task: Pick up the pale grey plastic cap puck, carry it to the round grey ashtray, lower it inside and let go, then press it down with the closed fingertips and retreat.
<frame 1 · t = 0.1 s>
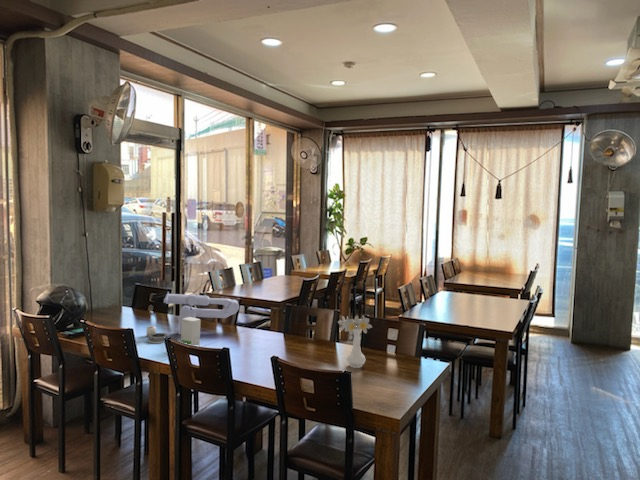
hand: (151, 297, 285), 22 cm above the table, tool horizontal, fingers open, 7 cm apart
flower vase: (354, 366, 238), on the table
skincare box: (190, 347, 263), on the table
cap: (151, 335, 283), on the table
round grey ashtray: (158, 340, 273), on the table
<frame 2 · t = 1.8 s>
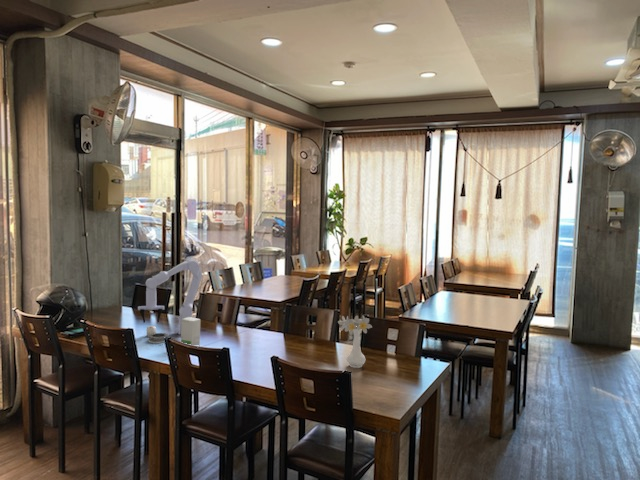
hand: (151, 322, 282), 8 cm above the table, tool pointing down, fingers open, 7 cm apart
nothing on the table moved.
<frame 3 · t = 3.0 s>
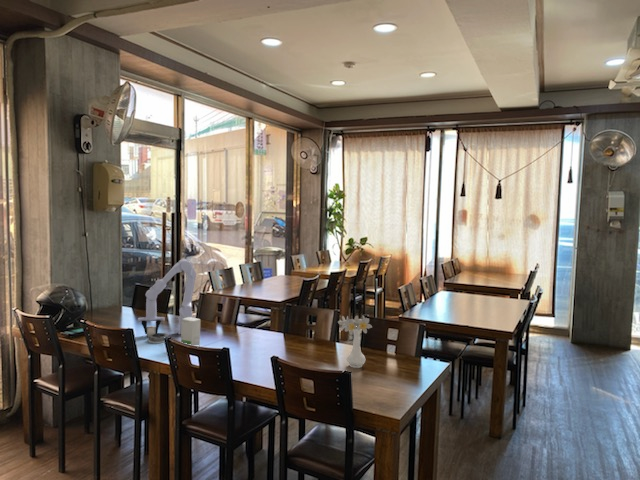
hand: (151, 333, 283), 1 cm above the table, tool pointing down, fingers closed on cap, 5 cm apart
cap: (151, 335, 283), on the table, touching gripper
everything else where it was.
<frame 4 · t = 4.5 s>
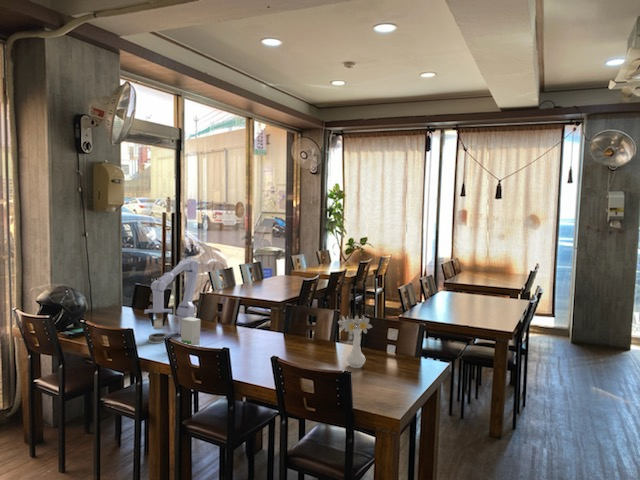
hand: (158, 325, 273), 8 cm above the table, tool pointing down, fingers closed on cap, 5 cm apart
cap: (158, 328, 273), point 7 cm above the table, touching gripper
everything else where it was.
when the fingers open (3 cm above the table, at t = 6.0 s): cap drops 1 cm, resting on round grey ashtray.
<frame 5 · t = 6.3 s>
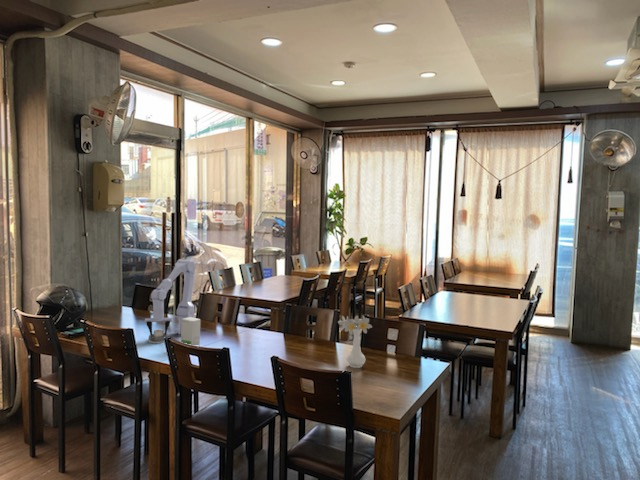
hand: (158, 334, 273), 3 cm above the table, tool pointing down, fingers open, 7 cm apart
cap: (158, 339, 273), point 1 cm above the table, touching round grey ashtray
everything else where it was.
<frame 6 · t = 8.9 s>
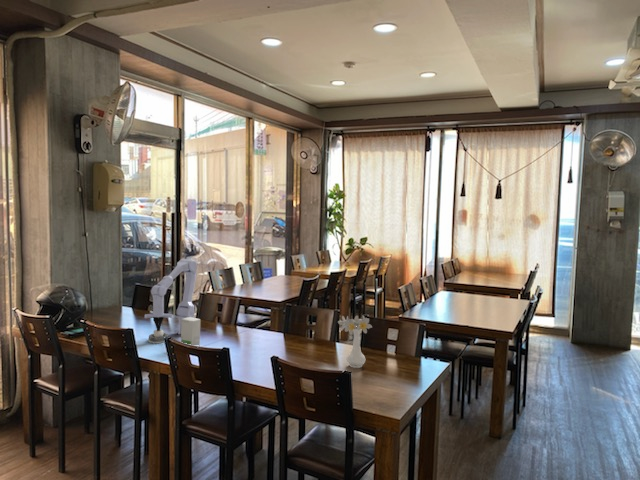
hand: (158, 330, 273), 6 cm above the table, tool pointing down, fingers closed, pressing on cap
cap: (158, 339, 273), point 1 cm above the table, touching round grey ashtray, gripper
everything else where it was.
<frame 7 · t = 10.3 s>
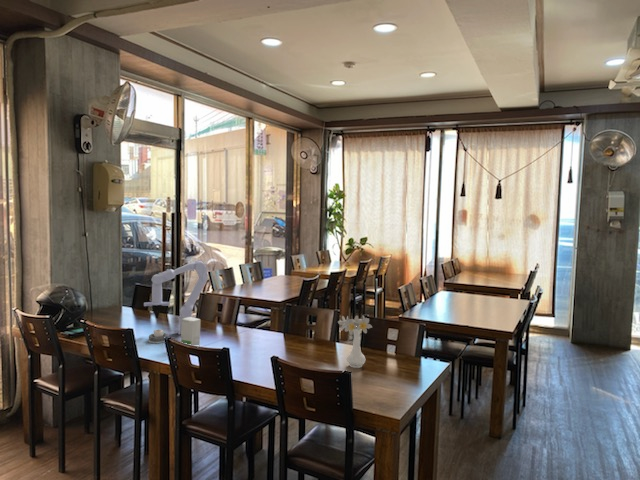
hand: (157, 318, 285), 10 cm above the table, tool pointing down, fingers closed
cap: (158, 339, 273), point 1 cm above the table, touching round grey ashtray
everything else where it was.
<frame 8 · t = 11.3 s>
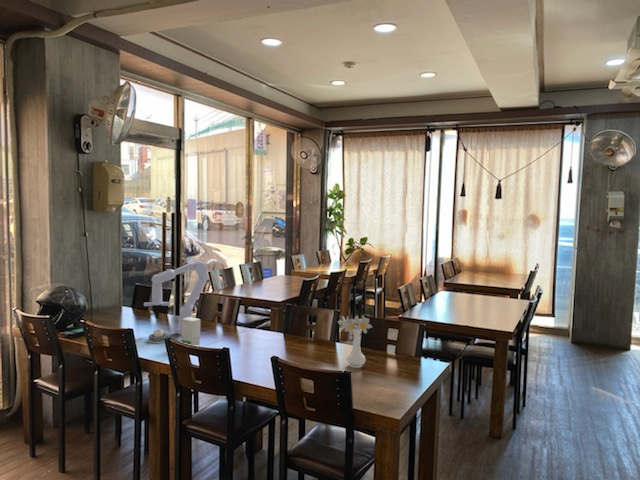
hand: (157, 318, 285), 10 cm above the table, tool pointing down, fingers closed
nothing on the table moved.
at the end: cap 0.1 cm off-centre on the round grey ashtray, point 0.6 cm above the round grey ashtray's base; cap tilted 0°; the gripper is holding nothing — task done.
